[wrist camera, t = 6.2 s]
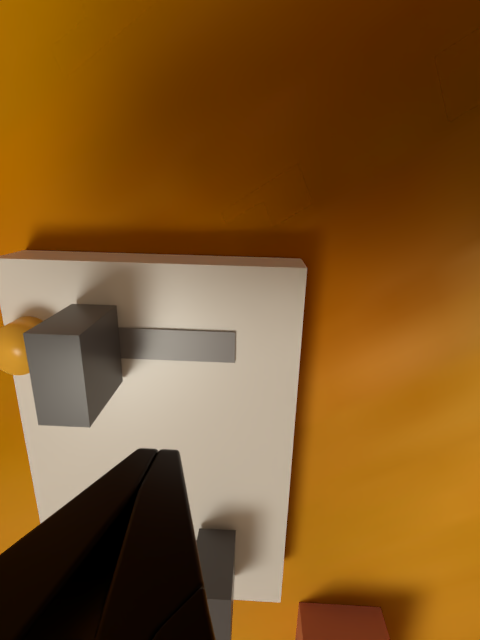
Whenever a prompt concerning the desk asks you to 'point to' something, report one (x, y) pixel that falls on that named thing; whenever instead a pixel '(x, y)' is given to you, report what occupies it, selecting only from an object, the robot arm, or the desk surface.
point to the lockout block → (340, 622)
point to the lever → (218, 576)
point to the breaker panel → (176, 385)
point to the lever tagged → (74, 364)
